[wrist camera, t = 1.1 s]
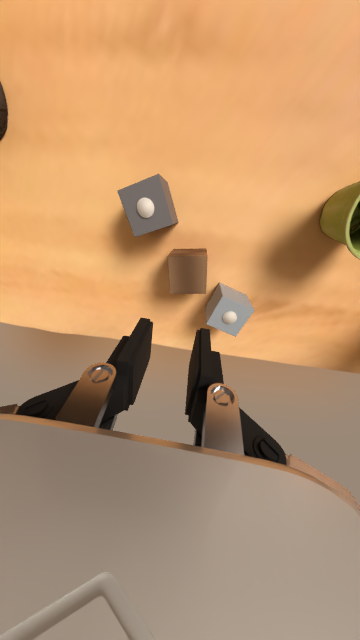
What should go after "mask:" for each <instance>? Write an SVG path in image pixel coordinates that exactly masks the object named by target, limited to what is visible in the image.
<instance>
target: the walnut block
mask: <svg viewBox="0 0 360 640" xmlns="http://www.w3.org/2000/svg"><path fill="white" fill-rule="evenodd" d="M168 268H169V285H170V294H206V278H207V250H206V249H173V251H172V252H171V253H170V254H169V256H168Z"/></svg>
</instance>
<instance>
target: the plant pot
mask: <svg viewBox="0 0 360 640" xmlns="http://www.w3.org/2000/svg"><path fill="white" fill-rule="evenodd" d="M358 222H360V181H359V182H357V183H354V184H352V185H349V186H347V187H345V188H343V189H341V190H339V191H338V192H336V193H335V194H334V195H333V196H332V197H331V198H330V199H329V200H328V201H327V203H326V204H325V206H324V208H323V212H322V215H321V218H320V227H321V229H322V231H323V233H324V234H326V235H327V236H329V237H330V238H332V239H334V240H337V241H339V242H341V243H343V244H344V245H346V246H347V248H348V249H349V251H350V252H351V253H352V254H353V255H354V256H355V257H356V258H358V259H360V224H359V225H358V226H357V227H356V228H354V229H353V230H349V229H350V228H352V227H353V226H355V225H356V224H357V223H358Z"/></svg>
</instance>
